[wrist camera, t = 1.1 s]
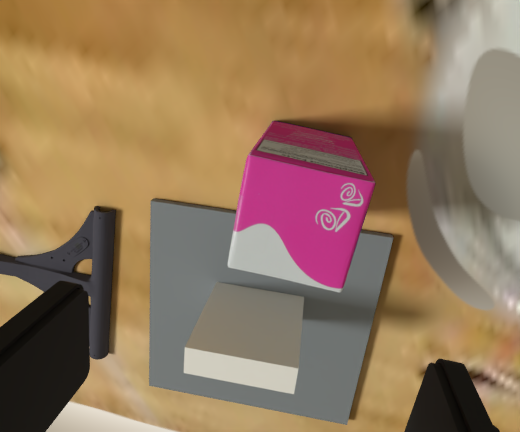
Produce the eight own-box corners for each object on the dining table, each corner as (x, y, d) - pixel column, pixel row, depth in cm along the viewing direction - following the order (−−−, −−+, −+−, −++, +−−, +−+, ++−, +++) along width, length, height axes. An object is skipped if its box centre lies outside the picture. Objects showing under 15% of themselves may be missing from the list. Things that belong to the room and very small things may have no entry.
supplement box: (334, 214, 29) (341, 299, 19) (255, 196, 30) (218, 269, 19) (356, 136, 27) (378, 182, 17) (271, 117, 28) (239, 150, 17)
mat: (153, 198, 31) (150, 200, 30) (392, 234, 29) (393, 237, 29) (151, 380, 38) (149, 385, 37) (346, 419, 36) (346, 424, 35)
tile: (216, 281, 32) (184, 347, 25) (304, 296, 31) (298, 368, 24) (214, 304, 33) (183, 374, 26) (300, 319, 32) (293, 396, 25)
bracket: (-51, 168, 34) (-82, 177, 31) (119, 207, 32) (102, 220, 30) (-34, 310, 39) (-59, 328, 36) (112, 348, 38) (97, 369, 35)
